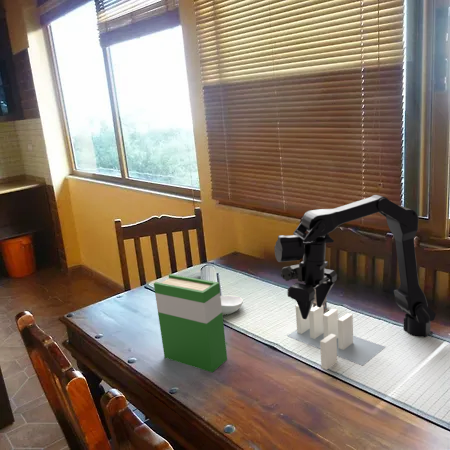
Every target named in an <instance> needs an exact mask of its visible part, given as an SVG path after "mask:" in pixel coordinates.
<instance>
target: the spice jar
mask: <svg viewBox="0 0 450 450" xmlns="http://www.w3.org/2000/svg"><path fill="white" fill-rule="evenodd" d="M314 289H315V288H314ZM314 298H315V299H314V302H313V304H312V308H313V307H315V306H317V302H316V289H315V295H314ZM322 305H323V308H324V312H325V311H327V309H328V308H327V307H328V303H327V298H326V299H325V301H324V302H323V304H322Z"/></svg>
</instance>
